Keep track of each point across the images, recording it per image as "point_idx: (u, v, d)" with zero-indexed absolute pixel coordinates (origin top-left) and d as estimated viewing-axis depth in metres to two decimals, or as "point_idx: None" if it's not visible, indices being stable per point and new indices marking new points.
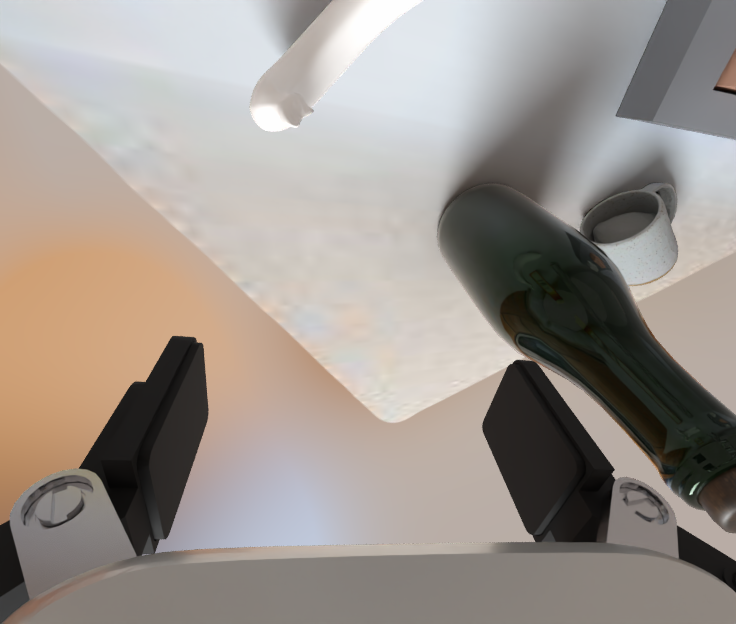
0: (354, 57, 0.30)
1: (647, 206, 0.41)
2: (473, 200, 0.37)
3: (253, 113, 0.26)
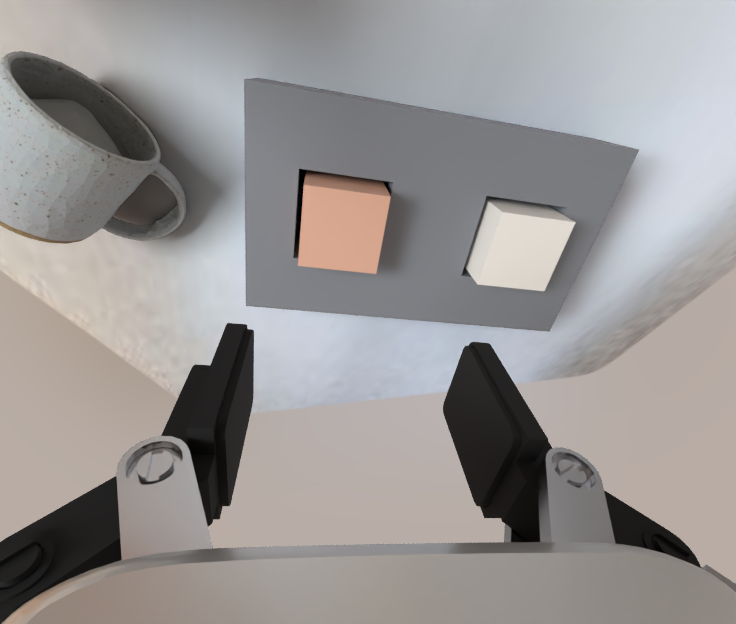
0: None
1: None
2: None
3: None
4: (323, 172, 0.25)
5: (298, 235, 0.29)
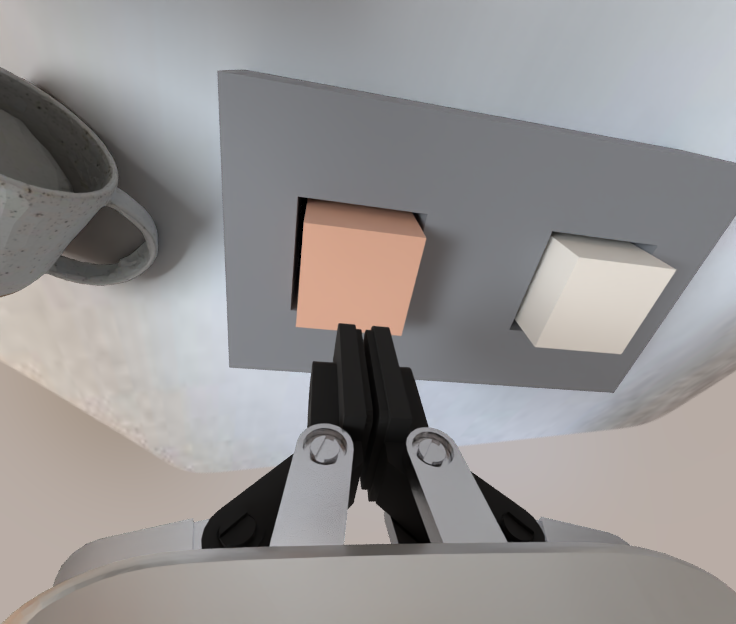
0: None
1: None
2: None
3: None
4: None
5: (298, 272, 0.23)
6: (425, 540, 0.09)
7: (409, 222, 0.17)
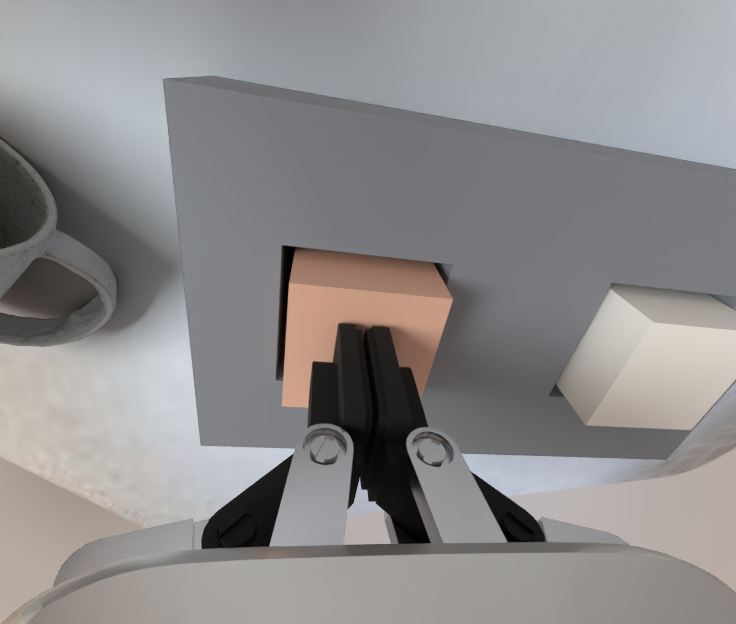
0: None
1: None
2: None
3: None
4: None
5: None
6: (425, 540, 0.09)
7: (428, 272, 0.13)
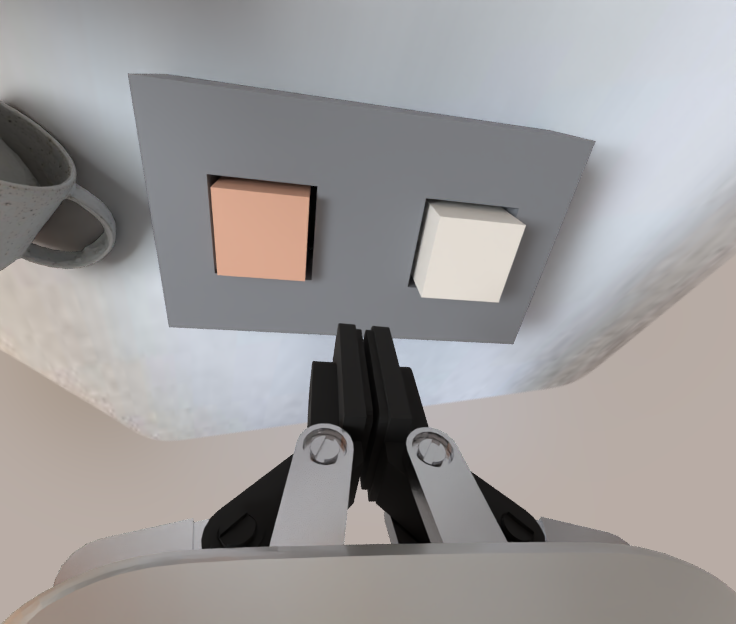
0: None
1: None
2: None
3: None
4: None
5: None
6: (425, 540, 0.09)
7: (302, 188, 0.22)
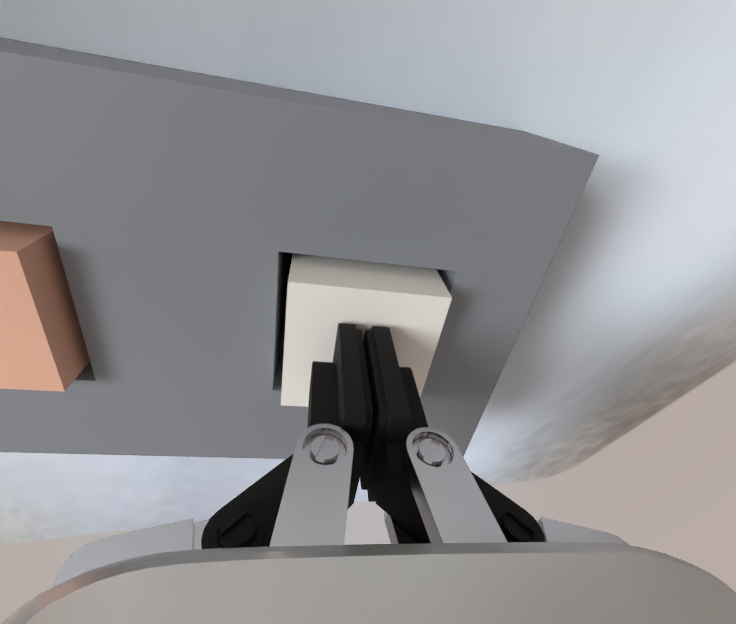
0: None
1: None
2: None
3: None
4: None
5: None
6: (426, 541, 0.09)
7: (40, 227, 0.11)
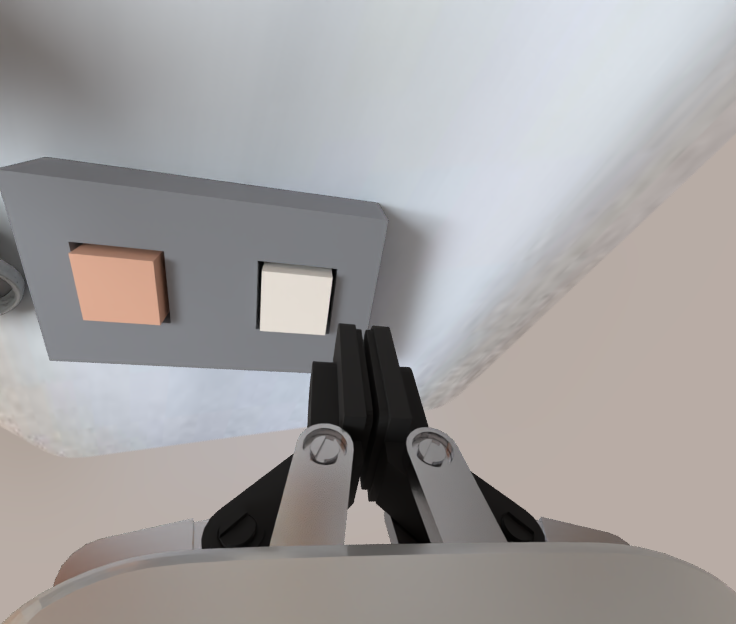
0: None
1: None
2: None
3: None
4: None
5: None
6: (426, 540, 0.09)
7: (155, 251, 0.27)
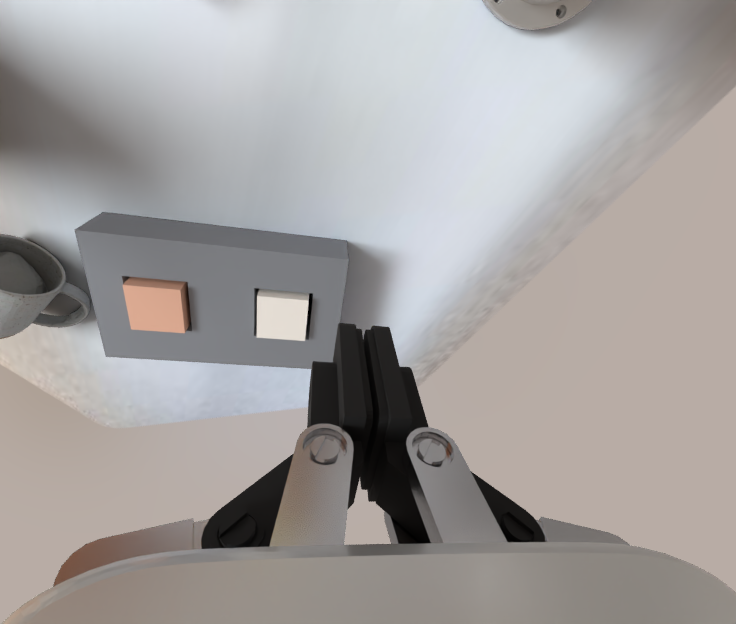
0: None
1: None
2: None
3: None
4: None
5: None
6: (426, 541, 0.09)
7: (181, 281, 0.37)
